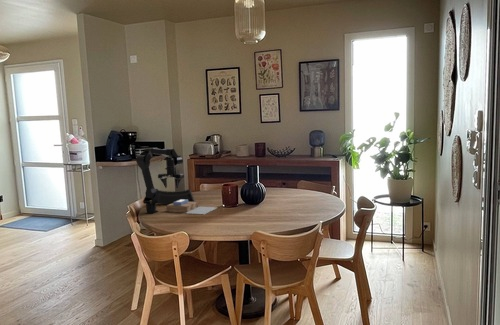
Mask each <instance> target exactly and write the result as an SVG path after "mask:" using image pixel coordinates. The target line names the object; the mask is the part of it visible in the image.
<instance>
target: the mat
mask: <svg viewBox="0 0 500 325" xmlns="http://www.w3.org/2000/svg"><path fill="white" fill-rule="evenodd" d="M216 209H218V207H216V206H214V207H213V206H198V207H197V208H195V209H193V210H191V211H189V212H187V213H186V214H188V215H189V214H193V215H206V214H208V213H211V212H212V211H214V210H216Z"/></svg>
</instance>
